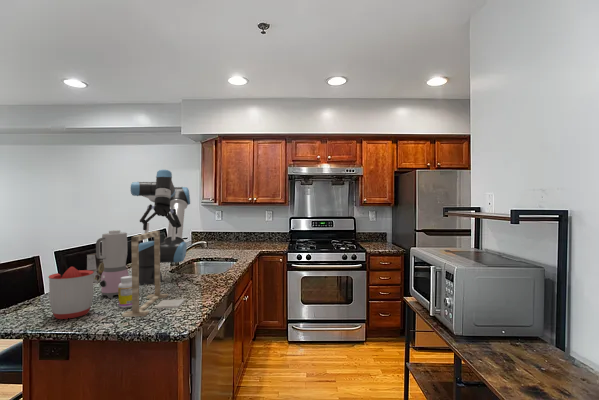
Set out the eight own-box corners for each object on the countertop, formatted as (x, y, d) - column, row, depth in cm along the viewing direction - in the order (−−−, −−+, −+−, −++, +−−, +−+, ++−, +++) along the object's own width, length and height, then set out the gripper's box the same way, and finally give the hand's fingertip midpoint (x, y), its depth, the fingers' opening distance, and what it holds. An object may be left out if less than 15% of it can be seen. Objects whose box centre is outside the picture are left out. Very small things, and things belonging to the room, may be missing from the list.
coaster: (162, 301, 159) (162, 299, 160) (184, 300, 160) (184, 299, 160) (155, 308, 150) (155, 306, 150) (178, 307, 150) (178, 305, 150)
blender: (119, 290, 181) (118, 229, 182) (134, 292, 176) (133, 230, 176) (89, 297, 167) (88, 231, 168) (104, 301, 162) (103, 232, 162)
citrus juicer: (84, 306, 154) (84, 261, 154) (100, 313, 143) (100, 265, 143) (42, 315, 142) (41, 266, 142) (55, 324, 131) (55, 271, 131)
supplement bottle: (122, 303, 157) (122, 275, 157) (137, 303, 157) (137, 275, 157) (115, 308, 150) (115, 278, 150) (131, 308, 150) (131, 278, 151)
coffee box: (97, 282, 200) (97, 254, 200) (86, 282, 200) (86, 254, 200) (106, 278, 209) (106, 252, 209) (96, 279, 209) (95, 252, 210)
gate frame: (149, 296, 169) (148, 230, 169) (168, 295, 169) (167, 230, 170) (122, 316, 139) (121, 237, 139) (145, 316, 140) (144, 236, 140)
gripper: (140, 191, 167) (137, 233, 160) (188, 200, 184) (187, 239, 177) (134, 195, 172) (130, 237, 165) (182, 205, 189) (180, 242, 181)
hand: (160, 238), depth 171 cm, fingers open, 13 cm apart
